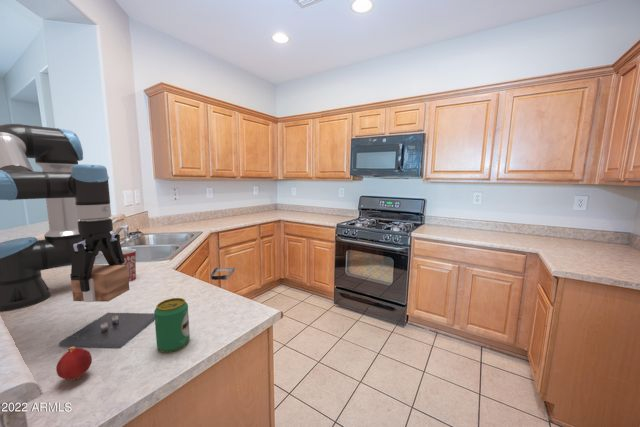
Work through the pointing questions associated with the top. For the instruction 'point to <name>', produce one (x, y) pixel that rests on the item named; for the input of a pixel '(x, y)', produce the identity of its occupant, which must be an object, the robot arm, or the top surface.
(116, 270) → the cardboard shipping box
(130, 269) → the red patterned paper cup
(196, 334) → the top surface
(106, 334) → the boss plate
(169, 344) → the beverage can
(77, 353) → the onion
